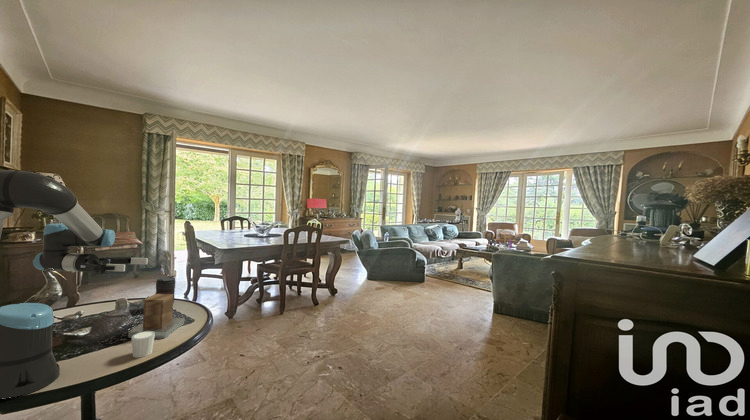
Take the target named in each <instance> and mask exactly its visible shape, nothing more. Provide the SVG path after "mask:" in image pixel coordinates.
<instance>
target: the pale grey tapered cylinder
mask: <svg viewBox="0 0 750 420" xmlns="http://www.w3.org/2000/svg"><path fill="white" fill-rule="evenodd" d="M154 337H155V332H153V331H144V332H140V333H137V334H134V335H133V336H132V338H131V348H132V351H131V352H132V357H134V358H136V359H137V358H144V357H147V356H149V355H151V354H152V353H153V349H154V341H155V338H154Z"/></svg>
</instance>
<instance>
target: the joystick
mask: <svg viewBox="0 0 750 420" xmlns="http://www.w3.org/2000/svg"><path fill="white" fill-rule="evenodd" d="M184 324H185V318H183V317H172V322H170V323H169V324H167V325H166V326H165V327H163V328H143V322H142V323H140V324H138V325H137V326H135V327H134V328H132V329H130V330H129V331H128V335H127V336H128V338H132V336H133V335H134V334H137V333H140V332H144V331H153V332H155V337H154V339H167V338H168V337H169V336H170V335H171V334H173V333H174V332H175V331H176V330H178V329H180V328H181V327H182V326H183V325H184Z"/></svg>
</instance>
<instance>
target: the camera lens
mask: <svg viewBox="0 0 750 420" xmlns="http://www.w3.org/2000/svg"><path fill="white" fill-rule="evenodd" d="M175 289H176V278H175V277H174V276H162V277H158V278H156V282H155V294H173V304H174V302H175V292H176V291H175Z"/></svg>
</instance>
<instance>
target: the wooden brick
mask: <svg viewBox="0 0 750 420" xmlns="http://www.w3.org/2000/svg"><path fill="white" fill-rule="evenodd" d="M173 308H174V303H173V294H156V293H154V294H153V295H151V296H148V297H147V298H144V299H143V318H142V320H143V321H142V323H143V328H163V327H165V326H166V325H167V324H169V323H170V322H172V318H173V313H174V311H173Z"/></svg>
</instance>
